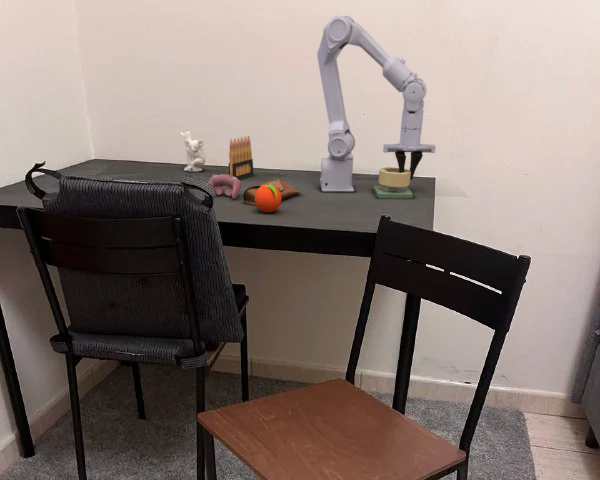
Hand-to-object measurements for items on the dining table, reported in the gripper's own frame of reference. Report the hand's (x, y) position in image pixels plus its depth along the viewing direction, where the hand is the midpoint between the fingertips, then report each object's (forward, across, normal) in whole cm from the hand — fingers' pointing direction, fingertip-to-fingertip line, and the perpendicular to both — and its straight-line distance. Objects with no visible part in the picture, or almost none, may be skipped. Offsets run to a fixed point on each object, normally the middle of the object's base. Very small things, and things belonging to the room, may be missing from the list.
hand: (406, 178), depth 178 cm
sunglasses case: (+4, -38, -6) cm, 39 cm away
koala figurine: (+5, -65, +31) cm, 72 cm away
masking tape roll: (+1, -4, 0) cm, 4 cm away
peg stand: (+4, -4, 0) cm, 6 cm away
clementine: (+4, -40, -21) cm, 45 cm away
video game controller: (+5, -53, -4) cm, 53 cm away
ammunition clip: (+5, -49, +21) cm, 53 cm away
